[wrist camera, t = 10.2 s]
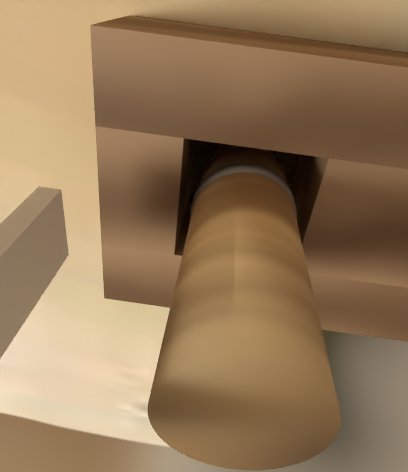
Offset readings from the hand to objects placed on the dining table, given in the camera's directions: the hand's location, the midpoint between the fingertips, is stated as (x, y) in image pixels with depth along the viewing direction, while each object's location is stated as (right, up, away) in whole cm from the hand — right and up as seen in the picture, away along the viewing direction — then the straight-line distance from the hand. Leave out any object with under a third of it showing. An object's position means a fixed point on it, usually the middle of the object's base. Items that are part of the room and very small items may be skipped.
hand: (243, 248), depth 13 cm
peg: (+1, +4, +6) cm, 8 cm away
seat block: (+4, +4, +6) cm, 8 cm away
